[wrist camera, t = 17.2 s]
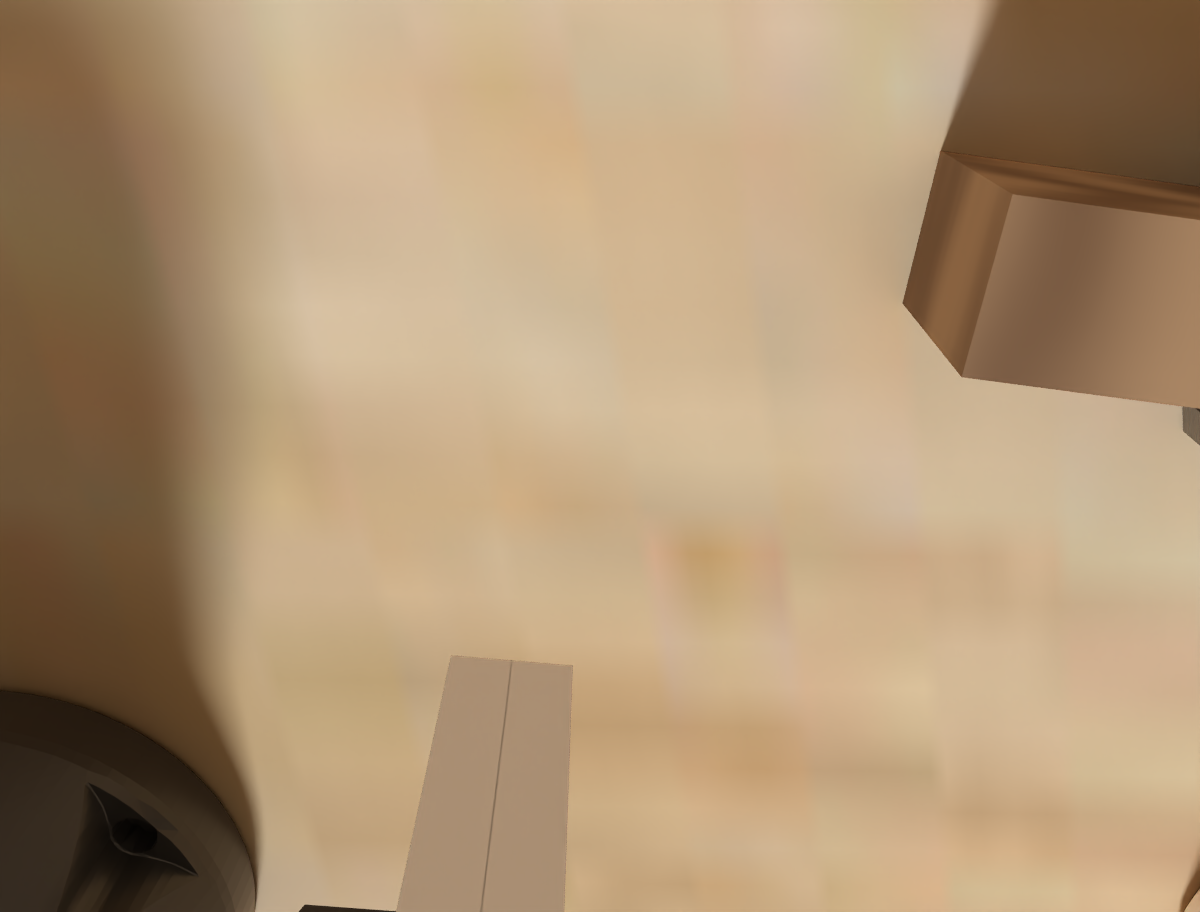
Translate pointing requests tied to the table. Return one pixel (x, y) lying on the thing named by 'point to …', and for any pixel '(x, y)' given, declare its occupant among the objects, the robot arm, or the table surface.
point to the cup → (1194, 903)
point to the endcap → (1192, 423)
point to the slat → (1061, 279)
